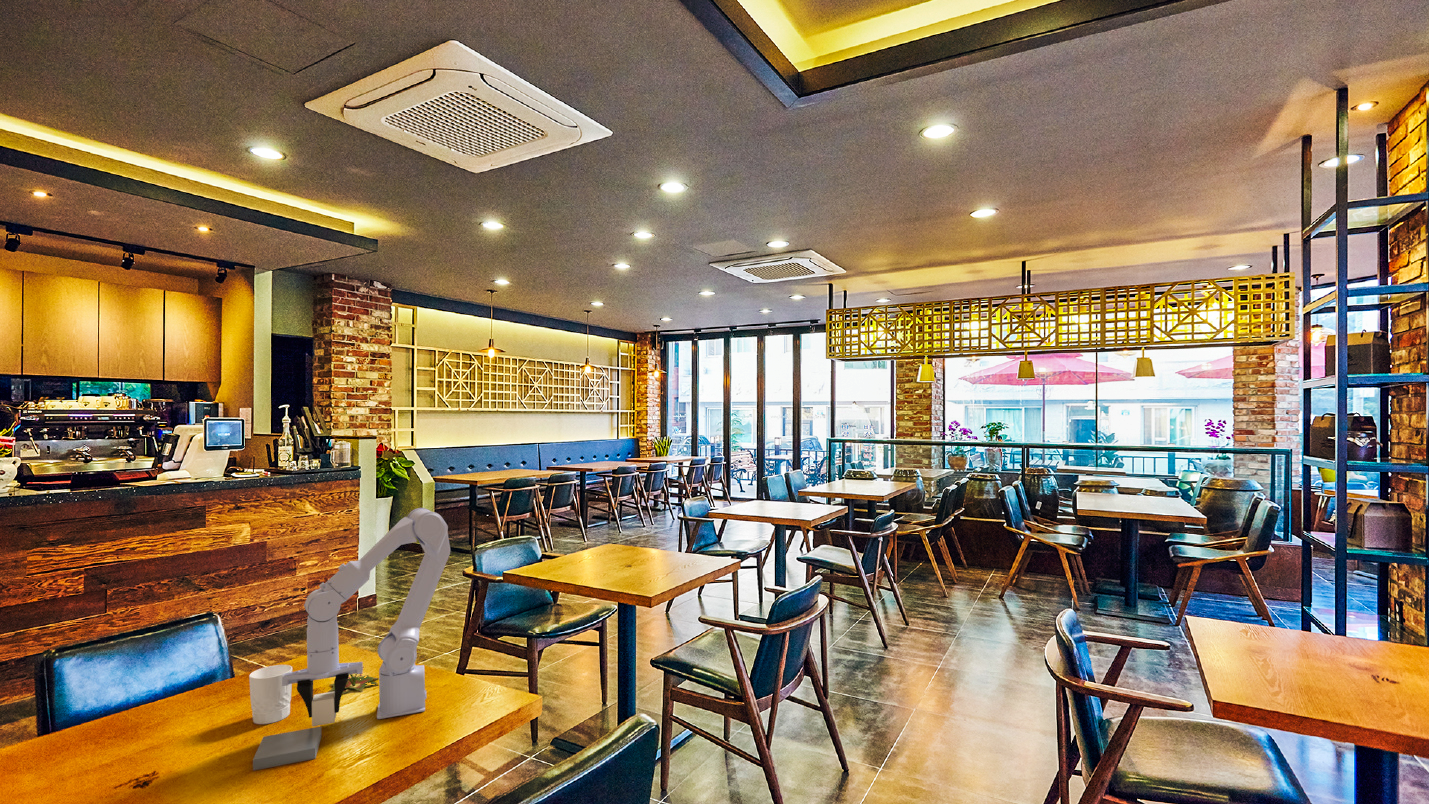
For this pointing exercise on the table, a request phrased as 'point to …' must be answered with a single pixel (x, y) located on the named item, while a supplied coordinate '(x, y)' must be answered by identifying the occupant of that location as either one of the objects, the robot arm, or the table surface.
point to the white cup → (270, 694)
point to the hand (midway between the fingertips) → (324, 713)
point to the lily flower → (356, 680)
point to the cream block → (323, 709)
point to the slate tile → (287, 748)
